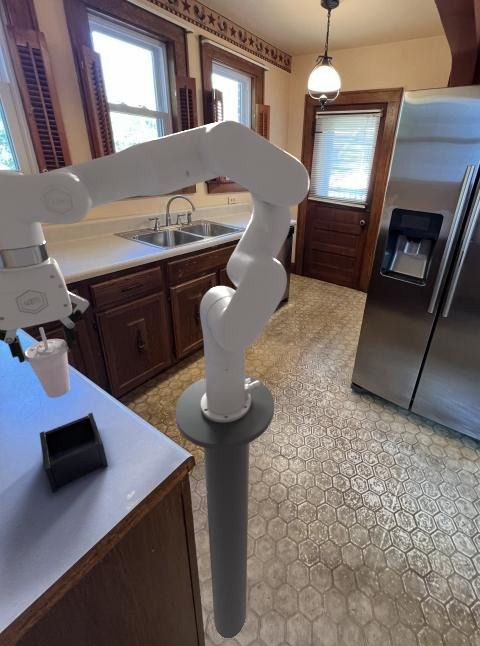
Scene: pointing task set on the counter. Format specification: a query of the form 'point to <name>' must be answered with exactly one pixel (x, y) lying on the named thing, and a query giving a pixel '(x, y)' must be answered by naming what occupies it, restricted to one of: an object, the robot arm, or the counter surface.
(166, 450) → the counter surface
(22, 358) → the robot arm
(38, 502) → the counter surface
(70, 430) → the bottle stand
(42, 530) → the counter surface
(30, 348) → the smoothie
